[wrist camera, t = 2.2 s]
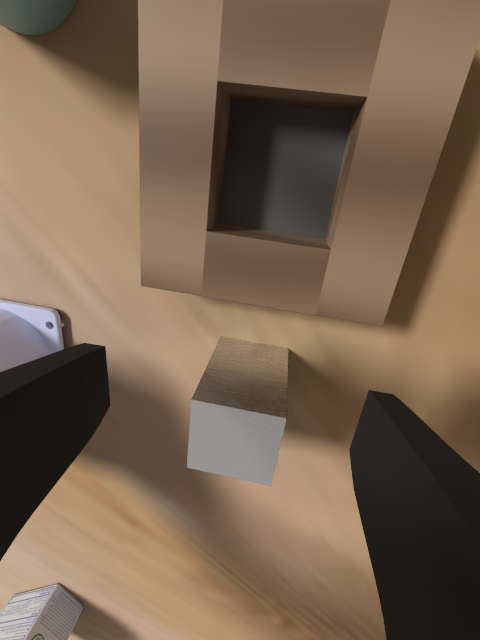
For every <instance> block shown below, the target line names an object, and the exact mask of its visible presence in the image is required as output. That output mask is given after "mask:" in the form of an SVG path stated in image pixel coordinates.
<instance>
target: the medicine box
mask: <svg viewBox="0 0 480 640" xmlns="http://www.w3.org/2000/svg"><path fill="white" fill-rule="evenodd" d="M82 610H83V605H82V604H81V603H80V602H79V601H78V600H77V599H76V598H75V597H74V596H73V595H72V594H71V593H69V592H68V591H67V590H66V589H65V588H64V587H63V586H61V585H60V584H55V585H51V586H47V587H44V588H40V589H36V590H32V591H28V592H24V593H20V594H16V595H13V596H12V597H11V598H10V599H9V601H8V602H7V604H6V605H5V607H4V608H3V609H2V611H1V612H0V640H68V638H69V636H70V634H71V632H72V630H73V628H74V626H75V624H76V622H77V620H78V618H79V616H80V614H81V612H82Z"/></svg>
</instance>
